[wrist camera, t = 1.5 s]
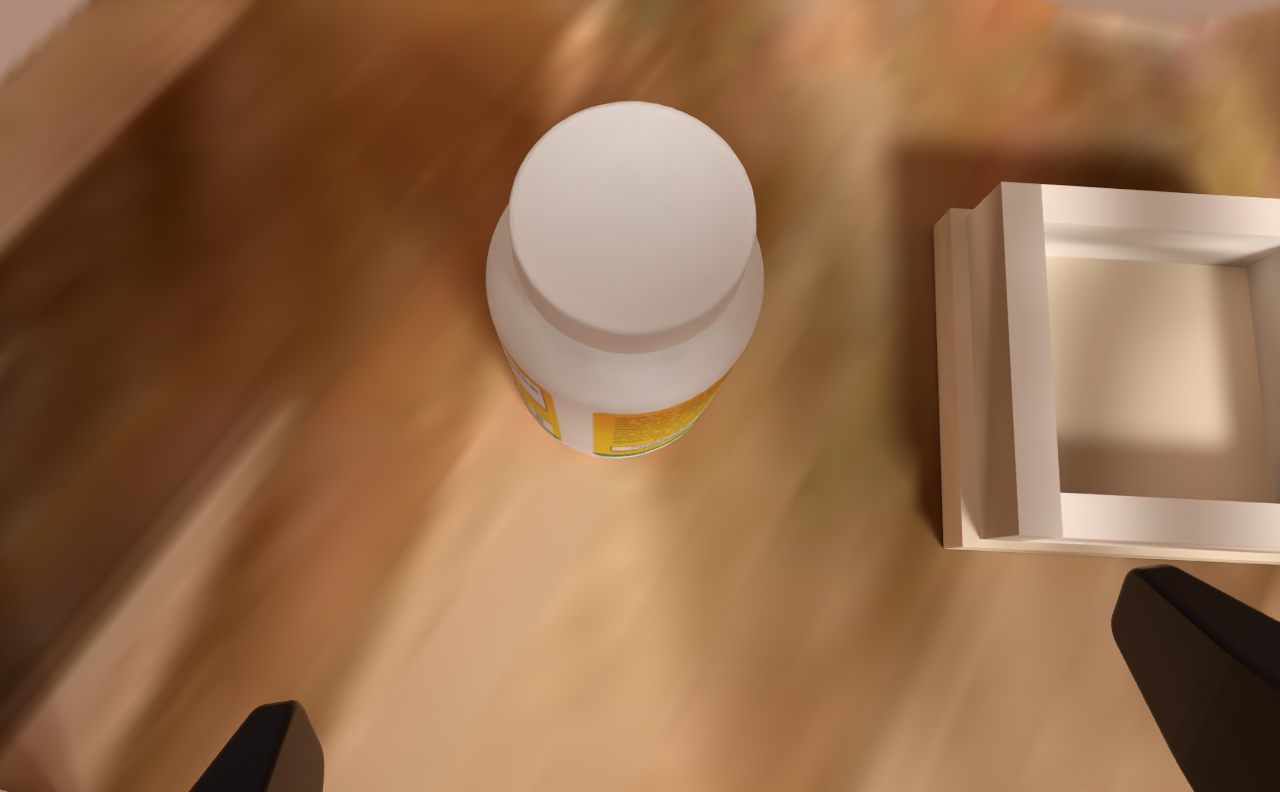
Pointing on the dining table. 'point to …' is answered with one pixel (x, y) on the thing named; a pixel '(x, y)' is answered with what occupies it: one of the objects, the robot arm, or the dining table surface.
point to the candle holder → (1110, 373)
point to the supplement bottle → (625, 276)
